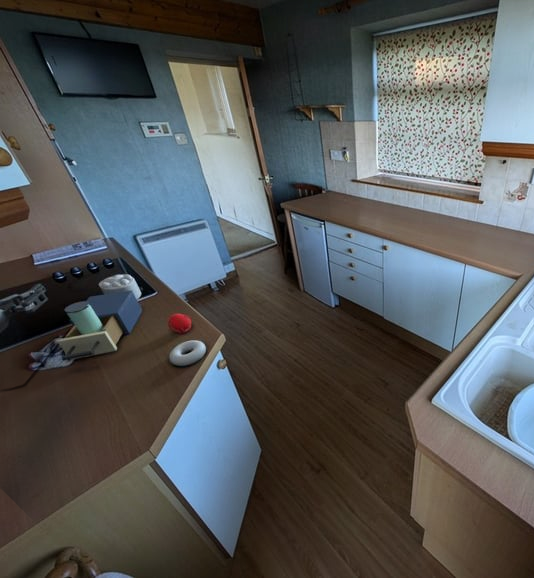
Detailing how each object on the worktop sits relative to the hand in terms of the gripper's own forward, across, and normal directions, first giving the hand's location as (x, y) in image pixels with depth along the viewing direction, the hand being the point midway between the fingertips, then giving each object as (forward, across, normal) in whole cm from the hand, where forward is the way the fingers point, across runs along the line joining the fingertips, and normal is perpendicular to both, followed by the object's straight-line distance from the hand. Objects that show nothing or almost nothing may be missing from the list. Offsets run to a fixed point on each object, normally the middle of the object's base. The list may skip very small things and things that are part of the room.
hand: (18, 290), depth 71 cm
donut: (-2, +28, -30) cm, 41 cm away
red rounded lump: (+14, +24, -30) cm, 41 cm away
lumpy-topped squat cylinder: (+46, -3, -30) cm, 55 cm away
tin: (+14, 0, -28) cm, 31 cm away
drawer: (+12, 0, -29) cm, 31 cm away
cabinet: (+25, 0, -30) cm, 39 cm away
